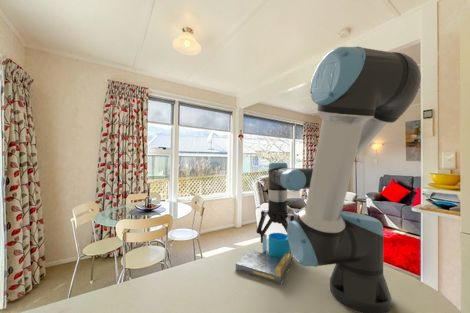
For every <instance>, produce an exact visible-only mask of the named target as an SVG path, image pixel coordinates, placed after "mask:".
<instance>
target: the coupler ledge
mask: <svg viewBox="0 0 470 313" xmlns="http://www.w3.org/2000/svg"><path fill="white" fill-rule="evenodd" d="M290 269H291V259H290V253H287V252H286V253H285V255H284V256H283V258H280V257H276V256H272V255H269V253H268V254H267V253H265V252H259V251H256V250H251V249H249V250H248V252H246V253H245V254H244V255H243V256H241V258H240V259H239V260H238V261H237V262H236V263H235V271H236V272H238V273H242V274H246V275H249V276H251V277H254V278H257V279H261V280H263V281H268V282H270V283H273V284H277V285H279V286H281V285H282V283H283V282H284V279H285V278H286V276H287V274H288V273H289V270H290Z"/></svg>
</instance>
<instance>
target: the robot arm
mask: <svg viewBox="0 0 470 313" xmlns="http://www.w3.org/2000/svg"><path fill="white" fill-rule="evenodd" d="M421 81H422V74H421V69H420V67H419V65H418V64H417V62H416V61H415V59H413V58H412V57H411V56H409V55H407V54H406V53H402V52H395V51H385V50H378V49H373V48H365V47H361V46H339V47H337V48H333V49H332V50H330V51H329V52H328V53H326V54H325V56H323V58H322V59H321V61H320V62H319V63H318V65H317V67H316V68H315V69H314V72H313V75H312V78H311V81H310V88H309V92H310V94H311V95H310V98H311V101H313V103H315V104H316V105H317V110H316V112H317V115H318V116H319V117H320V118H321V125H320V130H319V135H318V141H317V146H316V152H315V157H314V163H313V167H312V168H311V167H309V168H307V167H305V168H302V167H300V168H297V167H296V168H294V167H293V168H289V167H288V163H287V162H285V161H284V162H283V161H282V162H281V161H277V162H276V161H272V162H271V161H270V162H269V163H268V195H267V196H268V202H267V203H268V210H265V209H263V210H262V211H260V218H259V223H258V225H257V229H256V233H257V234H259V235H260V243H261V244H262V253H265V252H266V251H268V250H267V248H268V247H267V244H268V243H267V242H268V237H267V236H268V234H267V233H266V232H267V231H268V229H269V228H270V226H271V225H272V223H273V224H276V223H277V224H281V226H282V227H283V228H284V230H285V232H286V235H287V237H288V242H289V253H290V260H292V258H293V257H294V259H295V260H296V261H297V263H298V264H299V265H301V266H302V267H315V268H316V267H317V268H318V267H319V266H320V267H321V266H328V265H334V267H333V270H332V273H331V275H330V277H329V278H330V279H329V289H330V291H331V292H330V293H332V295H333V296H334V297H335V298H336V299H337V300H338V301H339V302H340V303H342V304H344V305H345V306H347V307H350V308H352V309H354V310H357V311H359V312H362V313H387V312H389V311H390V310H391V308H392V295H391V292H390V290H389V286H388V284H387V281H386V278H385V275H384V253H385V252H384V246H385V244H384V243H385V239H384V238H385V234H384V225H383V223H382V222H381V221H380V220H379V219H377V218H375V217H372V216H370V215H367V214H363V213H357V212H352V211H344V210H343V209H344V204H345V200H346V197H347V192H348V188H349V185H350V184H349V183H350V180H351V177H352V172H353V168H354V165H355V161H356V157H357V156H359V154H360V153H361V152H362V151H363V150H364V149H365V147H367V146H368V144H370V143H371V142H372V141H373V139H374V138H375V137H376V136H377V135H378V134H379V133H380V132H381V131H382V130H383V129H384V128H385V127H386V125H387V124H394V123H395V122H397V120H399V118H400V117H402V115H404V113H405V112H406V111H408V109H409V108H410V107H411V104H412V103H413V102H414V100H415V99H416V96H417V95H418V92H419V89H420V86H421ZM300 190H308V194H307V199H306V203H305V206H303V207H301V208H300V209H299V211H298V215H297V220H296V215H295V214H293V213H292V214H291V213H289V212H288V201H287V200H288V191H291V192H292V191H293V192H298V191H300ZM267 216H268V217H269V219H268V221H267V222H266V224H265V225H264V223H265V220H266V217H267ZM287 218H288V220H289V222H288V220H287ZM263 226H264V227H263Z"/></svg>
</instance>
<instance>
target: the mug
mask: <svg viewBox="0 0 470 313" xmlns="http://www.w3.org/2000/svg"><path fill="white" fill-rule="evenodd" d="M286 252H287V253H289V242H288V237H287V233H284V232H283V233H282V232H272V233H269V234H268V255H272V256H276V257H280V258H283V256H284V255H285V253H286Z"/></svg>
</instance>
